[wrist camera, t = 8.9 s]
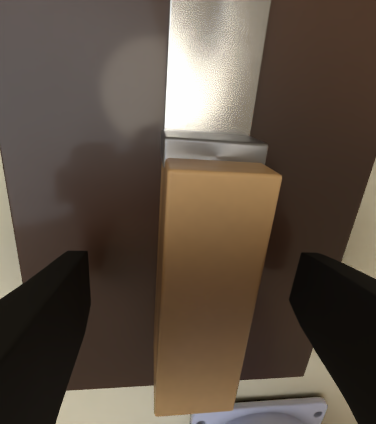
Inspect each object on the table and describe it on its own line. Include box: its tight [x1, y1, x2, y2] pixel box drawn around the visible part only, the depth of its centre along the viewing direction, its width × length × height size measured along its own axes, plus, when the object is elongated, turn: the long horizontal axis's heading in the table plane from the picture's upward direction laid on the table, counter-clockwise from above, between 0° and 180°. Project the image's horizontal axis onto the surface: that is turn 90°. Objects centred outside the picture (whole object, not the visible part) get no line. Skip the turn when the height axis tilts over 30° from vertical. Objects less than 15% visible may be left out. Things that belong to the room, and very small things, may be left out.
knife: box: [153, 0, 282, 417], centre depth 7 cm, size 18×3×3 cm, turn 175°
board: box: [0, 0, 376, 391], centre depth 10 cm, size 21×12×2 cm, turn 175°
